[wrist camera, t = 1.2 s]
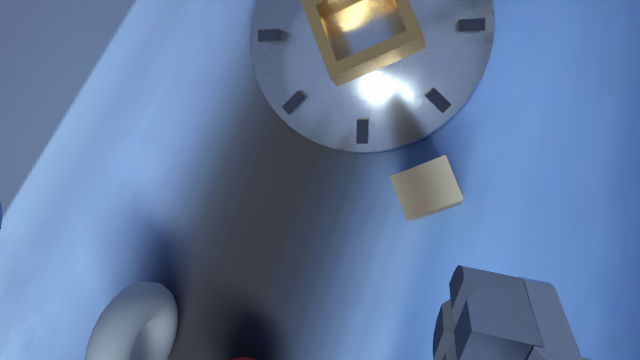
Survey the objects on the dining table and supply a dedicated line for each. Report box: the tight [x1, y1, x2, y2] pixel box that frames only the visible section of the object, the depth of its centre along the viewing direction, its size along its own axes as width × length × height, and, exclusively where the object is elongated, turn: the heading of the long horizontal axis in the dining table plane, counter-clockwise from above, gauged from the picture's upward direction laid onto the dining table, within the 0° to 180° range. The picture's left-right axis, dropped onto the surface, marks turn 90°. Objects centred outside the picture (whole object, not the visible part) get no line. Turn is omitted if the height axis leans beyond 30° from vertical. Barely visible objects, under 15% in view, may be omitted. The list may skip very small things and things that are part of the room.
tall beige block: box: [390, 155, 464, 220], centre depth 40 cm, size 4×3×9 cm
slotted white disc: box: [251, 0, 494, 154], centre depth 45 cm, size 21×21×4 cm
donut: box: [85, 281, 178, 360], centre depth 44 cm, size 10×4×10 cm, turn 166°
